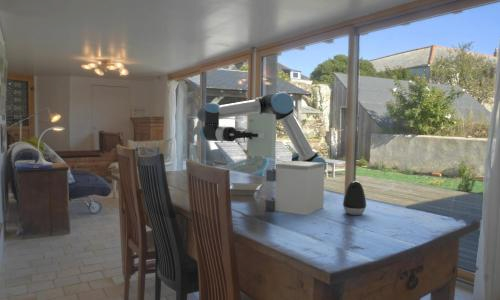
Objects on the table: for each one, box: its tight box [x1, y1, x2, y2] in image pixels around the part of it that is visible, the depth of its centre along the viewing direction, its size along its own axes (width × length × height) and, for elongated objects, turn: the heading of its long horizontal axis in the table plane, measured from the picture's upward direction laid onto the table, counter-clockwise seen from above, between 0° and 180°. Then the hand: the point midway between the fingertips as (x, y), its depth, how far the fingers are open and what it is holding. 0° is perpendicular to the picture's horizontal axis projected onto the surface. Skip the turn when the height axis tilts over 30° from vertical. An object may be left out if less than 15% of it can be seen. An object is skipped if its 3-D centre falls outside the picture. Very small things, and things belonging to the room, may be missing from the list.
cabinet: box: [274, 160, 325, 216], centre depth 185 cm, size 20×16×22 cm
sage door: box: [248, 113, 277, 158], centre depth 185 cm, size 4×13×20 cm, turn 57°
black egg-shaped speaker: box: [342, 180, 367, 216], centre depth 177 cm, size 10×10×15 cm
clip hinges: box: [265, 168, 276, 212], centre depth 184 cm, size 7×4×19 cm, turn 147°
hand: (266, 135), depth 184 cm, fingers closed on sage door, 3 cm apart
